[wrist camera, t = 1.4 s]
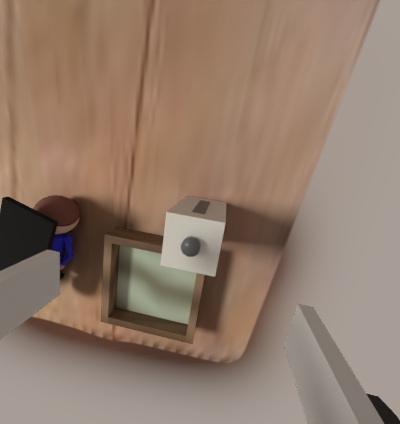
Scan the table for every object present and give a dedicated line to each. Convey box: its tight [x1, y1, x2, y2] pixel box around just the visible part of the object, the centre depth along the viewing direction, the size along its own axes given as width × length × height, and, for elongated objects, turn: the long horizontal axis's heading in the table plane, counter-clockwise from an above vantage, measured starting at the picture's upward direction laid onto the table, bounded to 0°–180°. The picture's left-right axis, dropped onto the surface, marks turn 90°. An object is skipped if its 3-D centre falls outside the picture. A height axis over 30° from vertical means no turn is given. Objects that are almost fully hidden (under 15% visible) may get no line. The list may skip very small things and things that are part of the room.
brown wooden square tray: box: [101, 227, 205, 344], centre depth 28 cm, size 13×13×3 cm
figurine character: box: [0, 196, 80, 279], centre depth 27 cm, size 7×8×15 cm
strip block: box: [160, 196, 226, 277], centre depth 22 cm, size 5×5×10 cm
